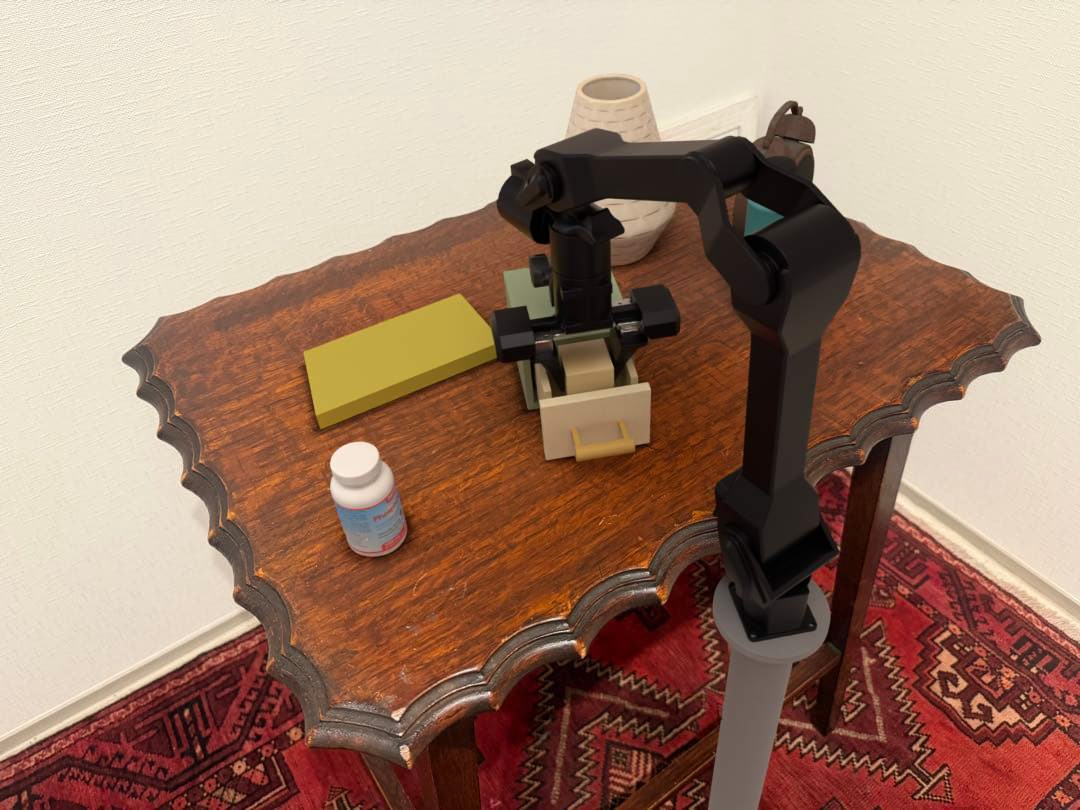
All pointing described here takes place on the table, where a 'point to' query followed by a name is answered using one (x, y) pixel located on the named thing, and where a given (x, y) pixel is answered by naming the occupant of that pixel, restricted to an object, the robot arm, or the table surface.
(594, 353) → the block
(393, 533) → the pill bottle
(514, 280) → the cabinet
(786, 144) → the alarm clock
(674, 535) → the table surface
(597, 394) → the drawer
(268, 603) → the table surface
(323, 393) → the flat olive board
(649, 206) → the vase
